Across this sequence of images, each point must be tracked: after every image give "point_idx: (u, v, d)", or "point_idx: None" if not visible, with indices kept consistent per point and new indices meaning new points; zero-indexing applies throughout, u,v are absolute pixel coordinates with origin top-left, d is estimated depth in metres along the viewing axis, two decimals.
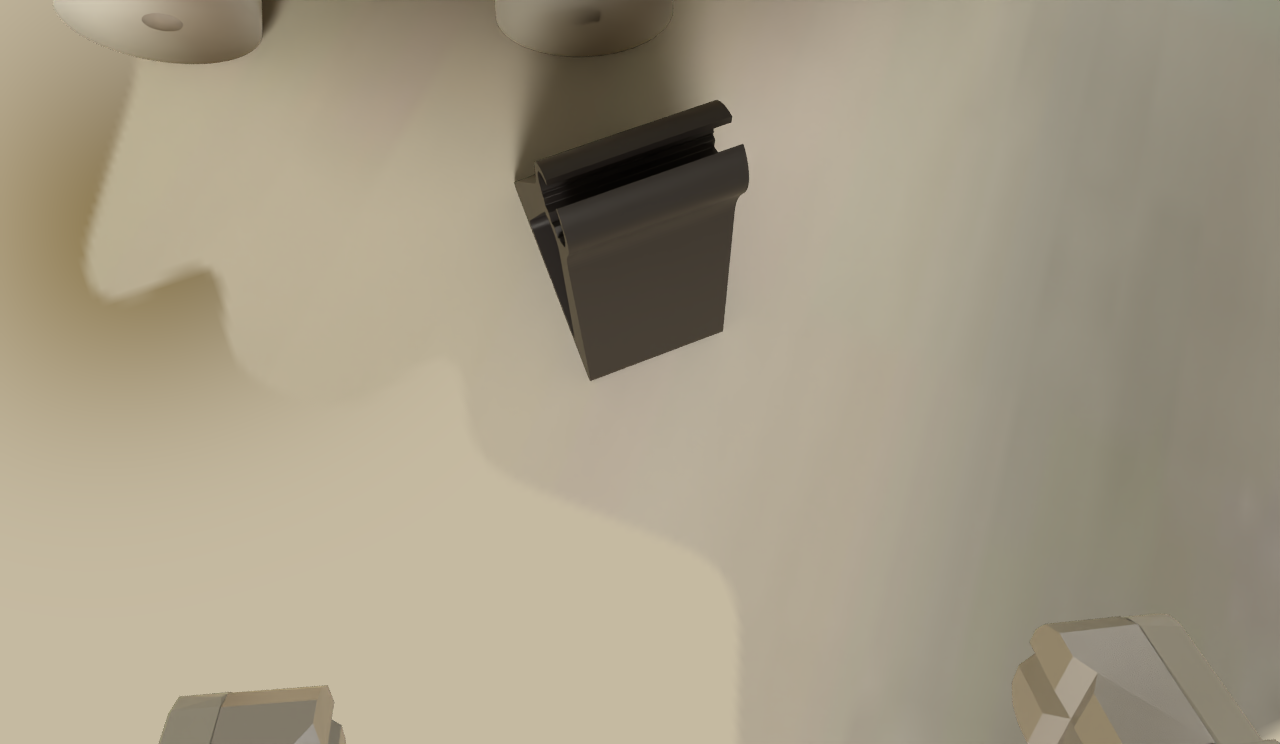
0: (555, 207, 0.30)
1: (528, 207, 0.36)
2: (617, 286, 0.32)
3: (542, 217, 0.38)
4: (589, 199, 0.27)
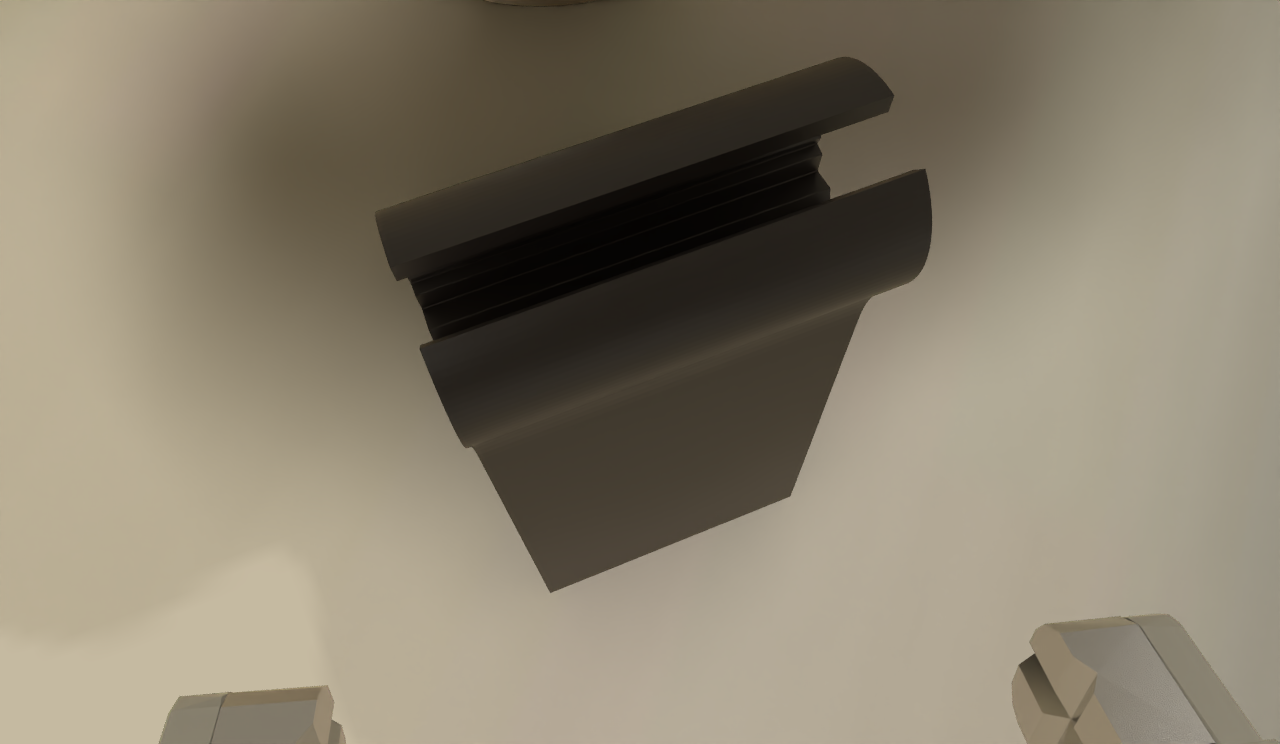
0: (446, 315, 0.12)
1: None
2: (597, 467, 0.15)
3: None
4: (512, 320, 0.10)
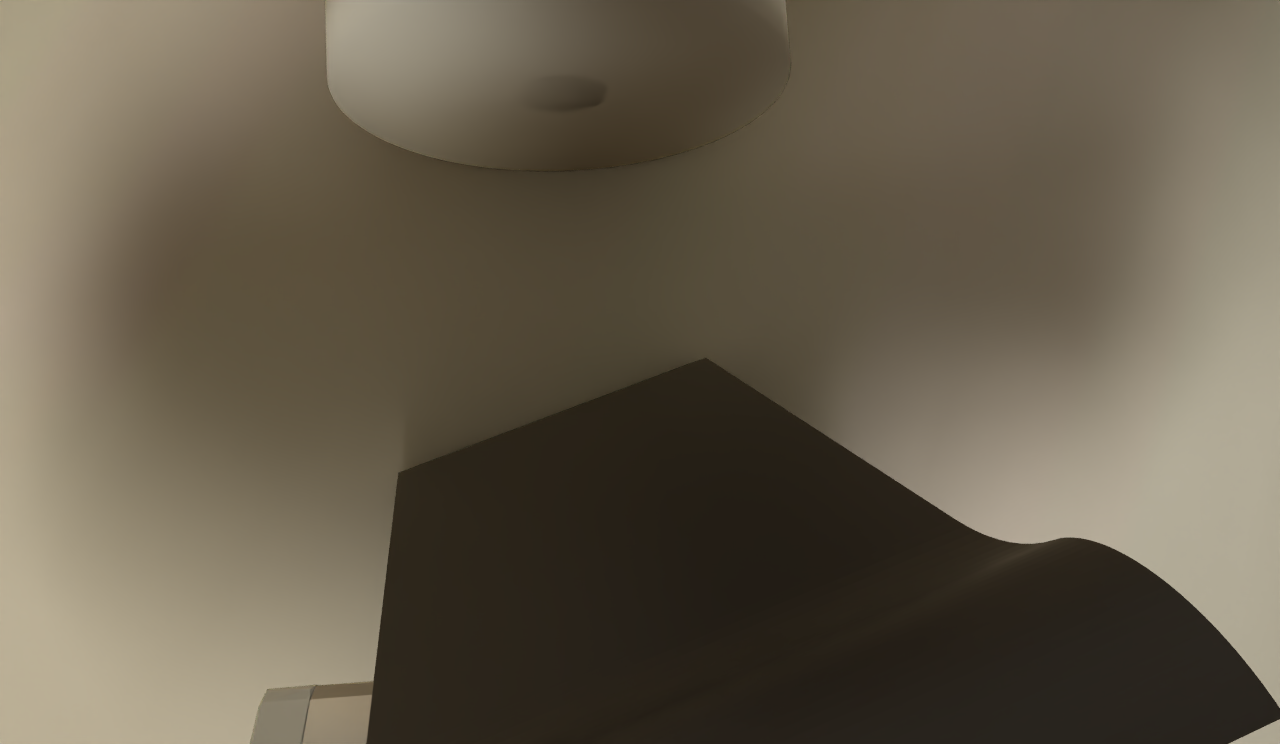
0: None
1: None
2: None
3: None
4: None
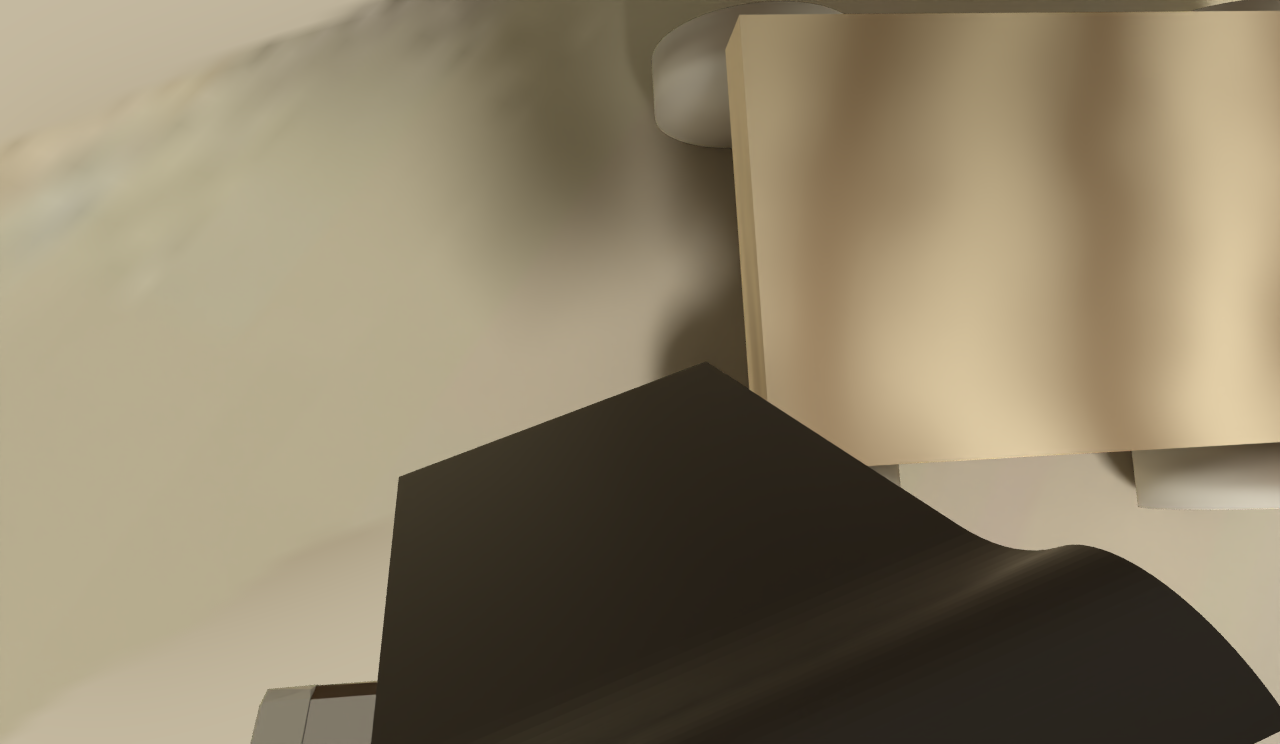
0: None
1: None
2: None
3: None
4: None
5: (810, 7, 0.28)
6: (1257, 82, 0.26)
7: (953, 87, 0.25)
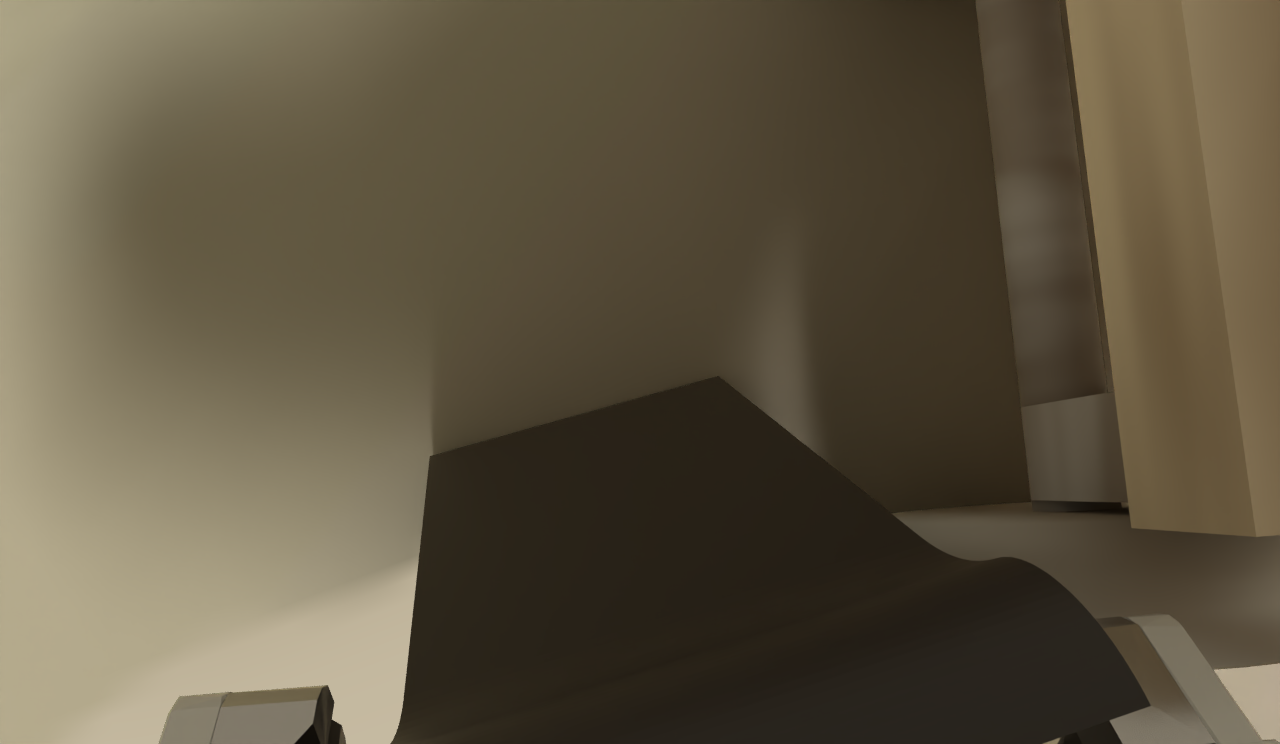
0: None
1: None
2: None
3: None
4: None
5: None
6: None
7: None
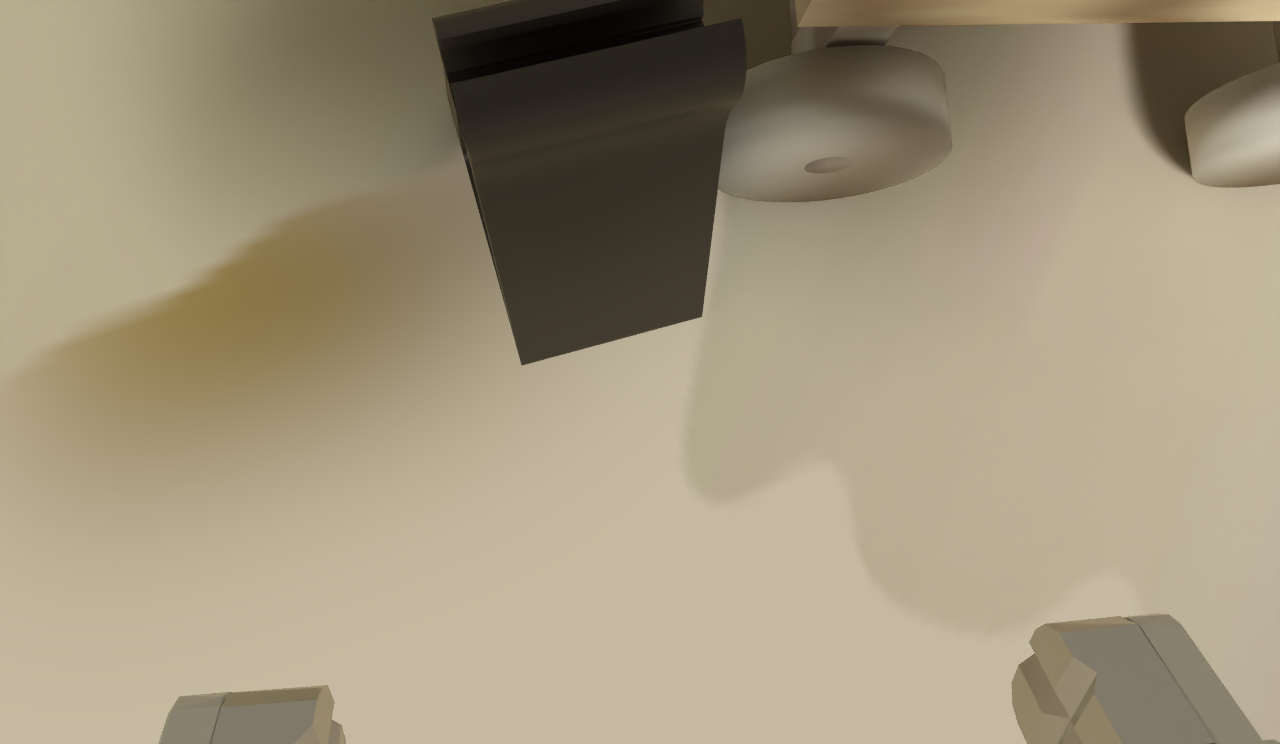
0: None
1: (456, 126, 0.27)
2: (554, 229, 0.23)
3: None
4: (502, 74, 0.18)
5: None
6: None
7: None
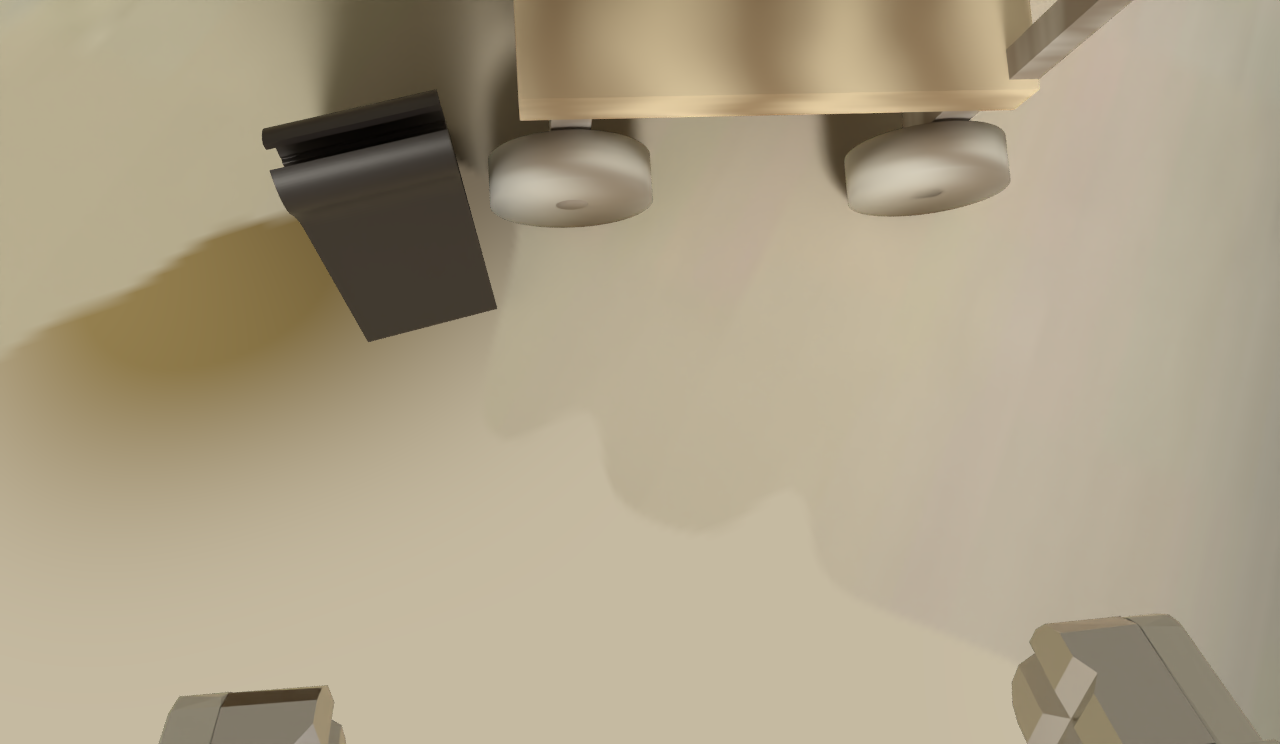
0: None
1: None
2: (363, 251, 0.36)
3: None
4: (300, 164, 0.30)
5: None
6: None
7: None
